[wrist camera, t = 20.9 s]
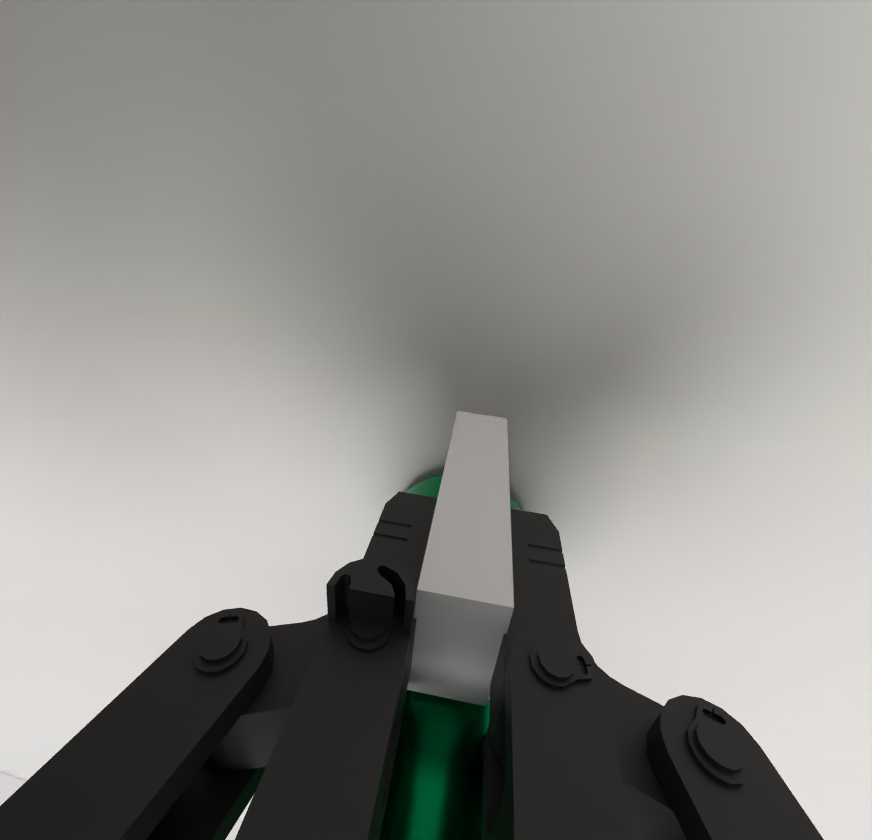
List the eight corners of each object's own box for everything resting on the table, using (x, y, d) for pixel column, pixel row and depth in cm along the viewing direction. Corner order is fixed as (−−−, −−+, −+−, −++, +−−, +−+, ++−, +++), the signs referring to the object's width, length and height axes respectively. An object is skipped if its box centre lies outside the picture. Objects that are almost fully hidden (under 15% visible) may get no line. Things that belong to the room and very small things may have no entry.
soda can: (554, 524, 15) (689, 1256, 4) (462, 583, 17) (403, 1177, 6) (457, 439, 14) (328, 1132, 3) (372, 514, 16) (126, 1084, 5)
